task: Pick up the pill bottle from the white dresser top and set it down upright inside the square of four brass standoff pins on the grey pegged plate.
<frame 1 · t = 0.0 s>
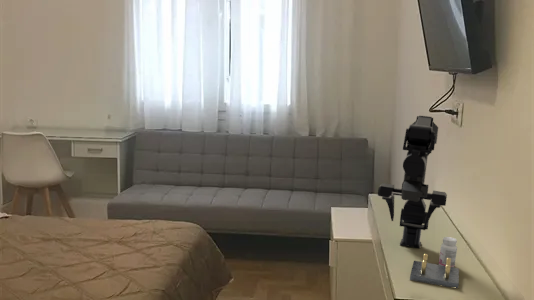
hand: (408, 223, 170), 15 cm above the table, fingers open, 9 cm apart
grey pegged plate: (434, 276, 171), on the table
pill bottle: (446, 266, 181), on the table
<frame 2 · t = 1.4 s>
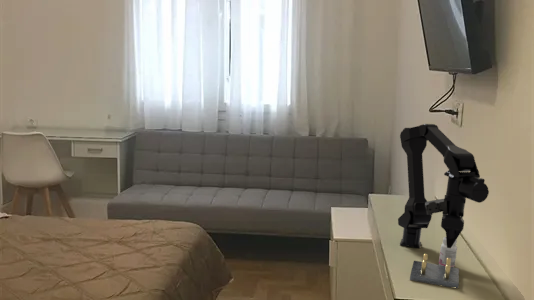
hand: (449, 243, 180), 7 cm above the table, fingers open, 9 cm apart
nothing on the table moved.
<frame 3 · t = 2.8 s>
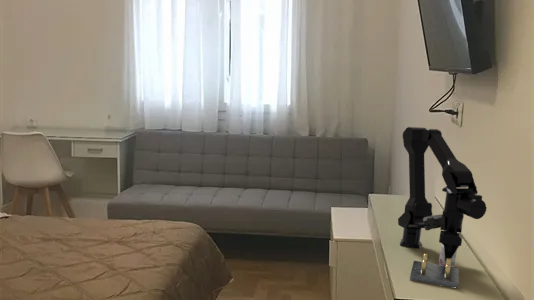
hand: (447, 258, 181), 2 cm above the table, fingers closed on pill bottle, 5 cm apart
pill bottle: (446, 265, 181), on the table, touching gripper
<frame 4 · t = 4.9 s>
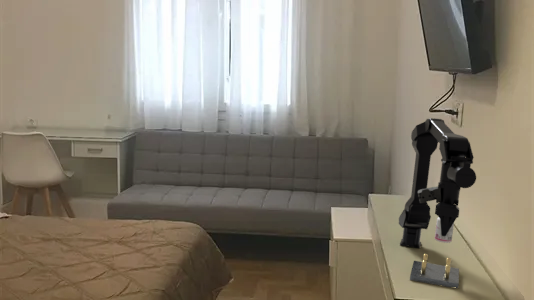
hand: (443, 233, 170), 12 cm above the table, fingers closed on pill bottle, 5 cm apart
pill bottle: (442, 241, 171), point 10 cm above the table, touching gripper
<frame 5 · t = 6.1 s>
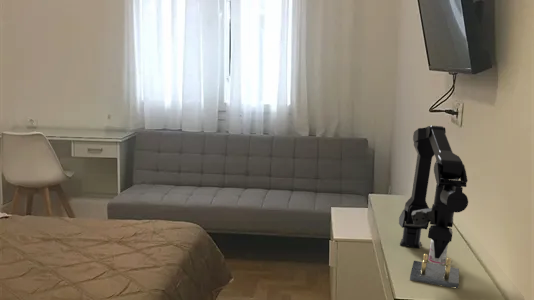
hand: (437, 255, 170), 6 cm above the table, fingers closed on pill bottle, 5 cm apart
pill bottle: (436, 262, 170), point 4 cm above the table, touching gripper
when the fingers open (5 cm above the table, at t = 7.1 s): pill bottle drops 2 cm, resting on grey pegged plate.
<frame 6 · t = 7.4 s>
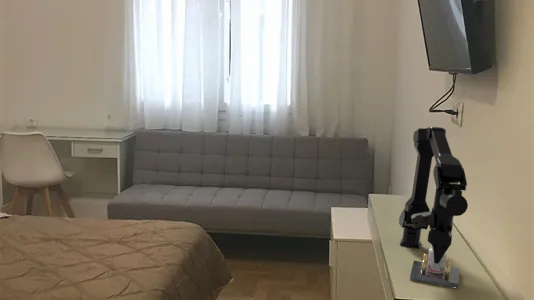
hand: (436, 258, 170), 5 cm above the table, fingers open, 8 cm apart
pill bottle: (435, 271, 171), point 1 cm above the table, touching grey pegged plate
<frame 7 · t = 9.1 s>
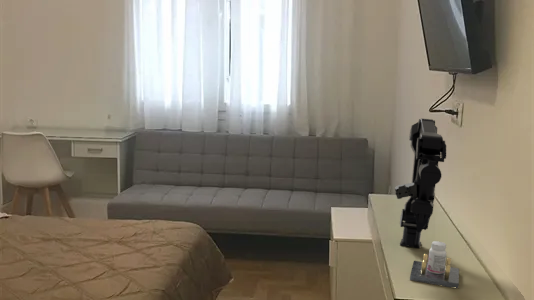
hand: (419, 227, 178), 11 cm above the table, fingers open, 9 cm apart
nothing on the table moved.
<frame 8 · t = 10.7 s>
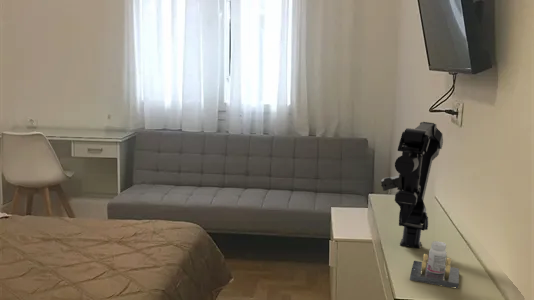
hand: (404, 219, 184), 12 cm above the table, fingers open, 9 cm apart
nothing on the table moved.
at the end: pill bottle 0.1 cm off-centre on the grey pegged plate, point 1.3 cm above the grey pegged plate's base; pill bottle tilted 0°; the gripper is holding nothing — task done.
